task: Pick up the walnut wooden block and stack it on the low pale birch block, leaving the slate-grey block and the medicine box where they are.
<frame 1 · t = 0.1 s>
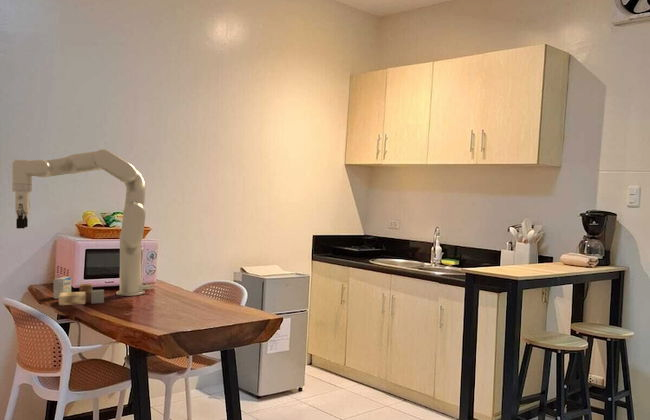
hand: (22, 227, 254), 31 cm above the table, fingers open, 9 cm apart
medicine box: (62, 297, 260), on the table
slate block: (97, 302, 250), on the table
birch block: (72, 303, 248), on the table
walnut block: (85, 298, 259), on the table
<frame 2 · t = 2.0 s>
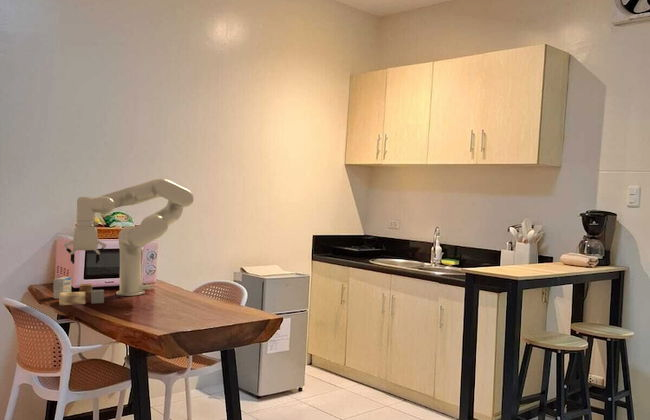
hand: (85, 263, 258), 15 cm above the table, fingers open, 9 cm apart
nothing on the table moved.
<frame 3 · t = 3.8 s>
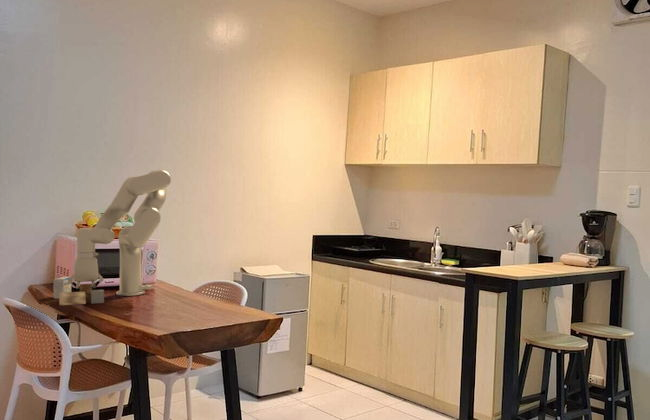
hand: (85, 296, 259), 1 cm above the table, fingers closed on walnut block, 5 cm apart
walnut block: (85, 298, 259), on the table, touching gripper
everything else where it was.
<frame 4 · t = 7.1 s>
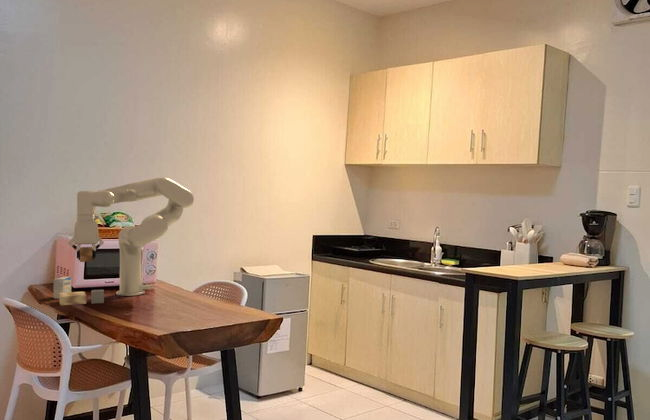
hand: (86, 259, 259), 17 cm above the table, fingers closed on walnut block, 5 cm apart
walnut block: (86, 261, 259), point 16 cm above the table, touching gripper
everything else where it was.
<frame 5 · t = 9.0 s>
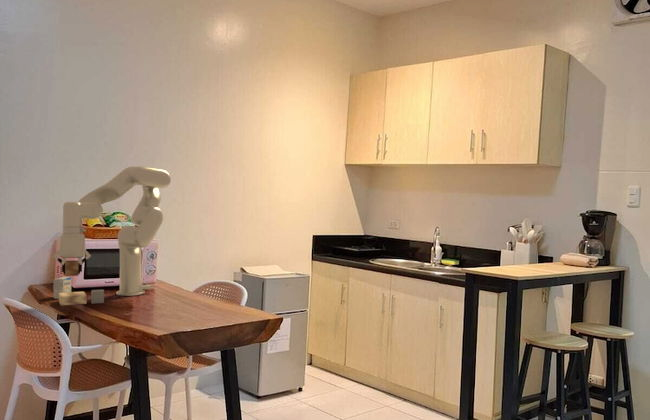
hand: (71, 273, 247), 12 cm above the table, fingers closed on walnut block, 5 cm apart
walnut block: (71, 275, 247), point 12 cm above the table, touching gripper
everything else where it was.
when the fingers open (6 cm above the table, at t = 10.5 s): walnut block drops 2 cm, point 4 cm above the table.
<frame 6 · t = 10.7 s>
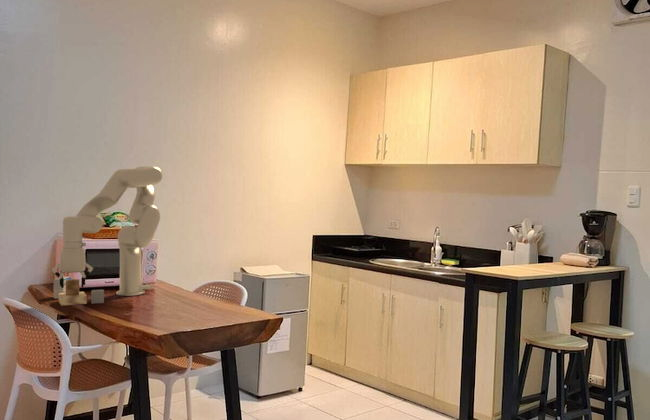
hand: (72, 287, 248), 7 cm above the table, fingers open, 7 cm apart
walnut block: (72, 294, 248), point 4 cm above the table
everything else where it was.
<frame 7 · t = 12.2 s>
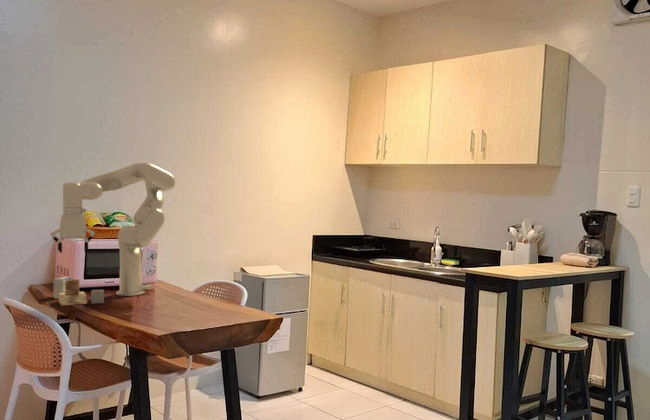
hand: (73, 252, 248), 21 cm above the table, fingers open, 9 cm apart
birch block: (72, 303, 248), on the table, touching walnut block
walnut block: (72, 294, 248), point 4 cm above the table, touching birch block
everything else where it was.
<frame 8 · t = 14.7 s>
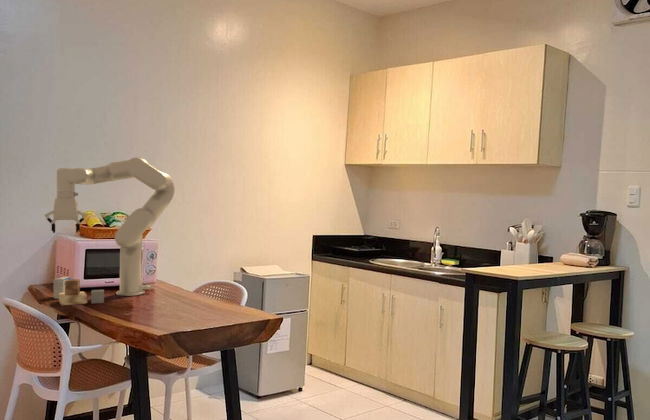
hand: (65, 232, 267), 28 cm above the table, fingers open, 9 cm apart
nothing on the table moved.
at the end: walnut block 0.2 cm from the birch block (horizontally); walnut block point 3.5 cm above the table; walnut block tilted 0° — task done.
